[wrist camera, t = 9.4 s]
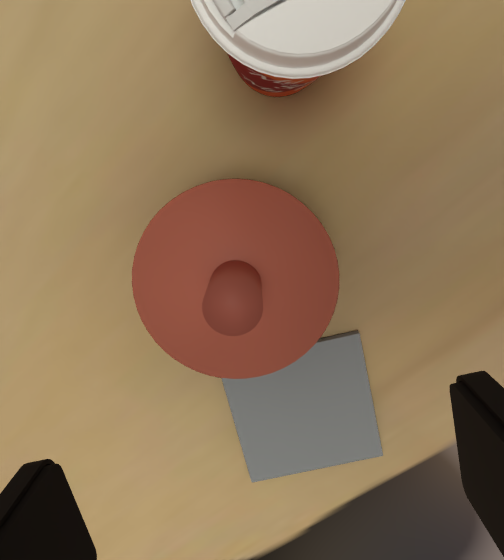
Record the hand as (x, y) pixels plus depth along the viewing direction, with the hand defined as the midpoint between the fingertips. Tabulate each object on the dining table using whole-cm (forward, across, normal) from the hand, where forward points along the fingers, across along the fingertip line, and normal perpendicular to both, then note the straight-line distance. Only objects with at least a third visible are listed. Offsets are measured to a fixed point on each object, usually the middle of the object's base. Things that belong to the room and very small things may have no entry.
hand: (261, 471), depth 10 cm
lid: (+16, +1, 0) cm, 17 cm away
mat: (+22, 0, +13) cm, 26 cm away
